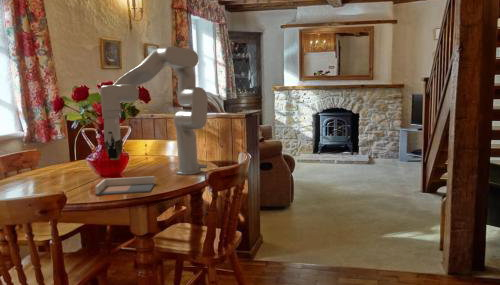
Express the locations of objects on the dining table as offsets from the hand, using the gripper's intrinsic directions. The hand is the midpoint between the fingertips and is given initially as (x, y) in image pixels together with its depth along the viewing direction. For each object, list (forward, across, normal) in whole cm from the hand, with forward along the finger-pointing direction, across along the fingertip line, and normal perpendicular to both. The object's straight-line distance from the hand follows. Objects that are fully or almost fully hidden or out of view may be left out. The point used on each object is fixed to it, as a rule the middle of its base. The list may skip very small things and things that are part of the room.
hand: (114, 156), depth 184 cm
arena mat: (+14, 0, +4) cm, 15 cm away
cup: (+1, 0, 0) cm, 1 cm away
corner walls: (+14, 0, +4) cm, 15 cm away
